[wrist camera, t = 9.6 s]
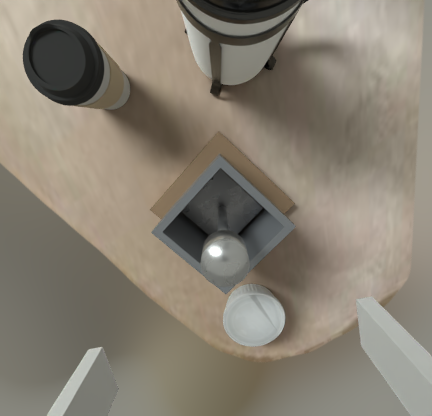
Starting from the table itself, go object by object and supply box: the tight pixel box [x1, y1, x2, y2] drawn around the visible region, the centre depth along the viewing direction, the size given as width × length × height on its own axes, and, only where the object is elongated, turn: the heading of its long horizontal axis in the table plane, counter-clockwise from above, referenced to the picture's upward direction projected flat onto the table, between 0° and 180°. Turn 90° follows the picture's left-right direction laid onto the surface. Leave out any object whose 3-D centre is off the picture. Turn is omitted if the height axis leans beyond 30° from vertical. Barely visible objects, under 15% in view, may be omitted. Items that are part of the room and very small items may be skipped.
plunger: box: [182, 169, 263, 287], centre depth 34 cm, size 10×10×22 cm
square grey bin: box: [150, 132, 296, 294], centre depth 40 cm, size 18×18×14 cm
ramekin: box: [223, 284, 285, 346], centre depth 49 cm, size 11×11×5 cm
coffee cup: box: [23, 20, 130, 110], centre depth 35 cm, size 9×9×15 cm
